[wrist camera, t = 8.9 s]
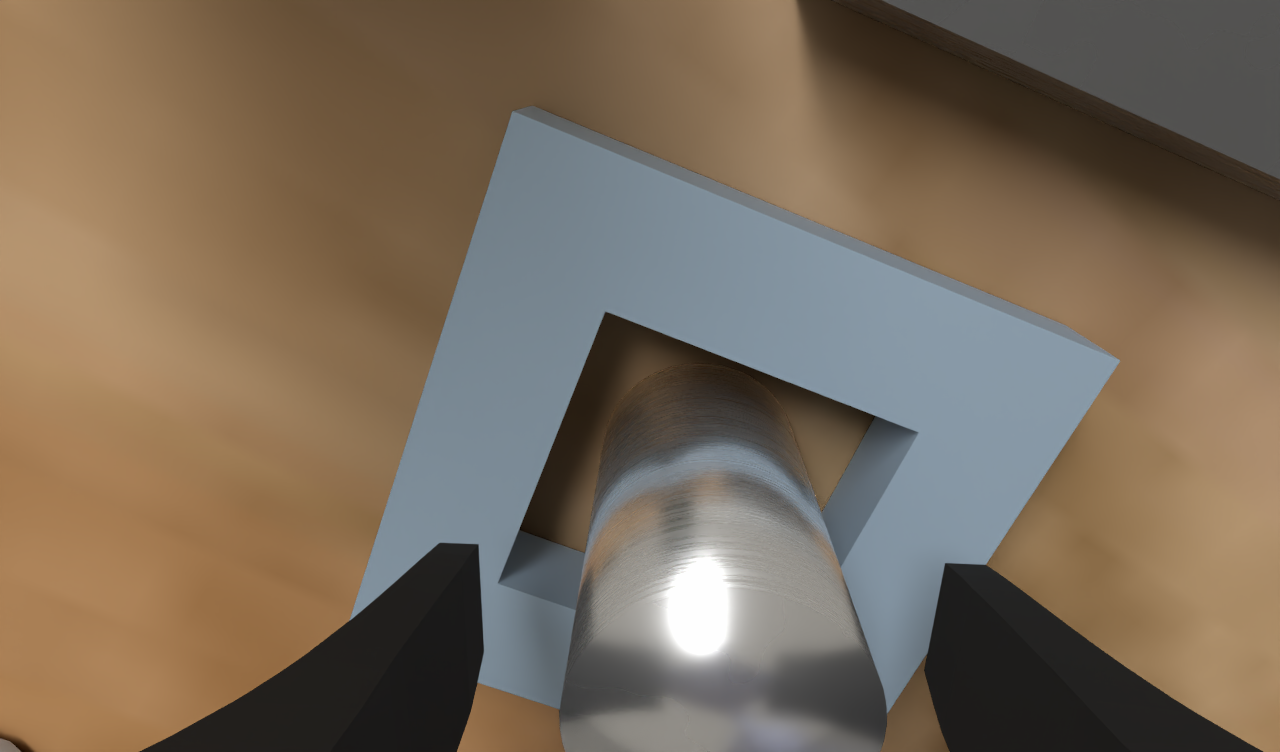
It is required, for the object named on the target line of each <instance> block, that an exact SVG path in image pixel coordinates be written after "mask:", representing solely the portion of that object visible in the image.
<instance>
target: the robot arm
mask: <svg viewBox="0 0 1280 752" xmlns="http://www.w3.org/2000/svg"><path fill="white" fill-rule="evenodd" d="M483 654H484V640H483V621H482V602H481V582H480V563H479V544H462V543H439V544H437V545H436V546H435V547H434V548H433V549H432V550H430V551H429V552H428V553H427V554H426V555H425V556H424V557H422V558H421V559H420V560H419V561H418V562H417V563H416V564H415V565H413V566H412V567H411V568H410V569H409V570H408V571H407V572H406V573H405V574H403V575H402V576H401V577H400V578H399V579H398V580H397V581H396V582H394V583H393V584H392V585H391V586H390V587H389V588H388V589H387V590H385V591H384V592H383V593H382V594H381V595H380V596H378V597H377V598H376V599H375V600H374V601H373V602H371V603H370V604H369V605H368V606H367V607H366V608H364V609H363V610H362V611H361V612H360V613H358V614H357V615H356V616H355V617H354V618H353V619H351V620H350V621H349V622H347V623H346V624H345V625H343V626H342V627H341V628H340V629H338V630H337V631H336V632H334V633H333V634H332V635H331V636H329V637H328V638H327V639H325V640H324V641H323V642H321V643H320V644H319V645H318V646H316V647H315V648H314V649H312V650H311V651H310V652H309V653H307V654H306V655H304V656H303V657H302V658H300V659H299V660H297V661H296V662H294V663H293V664H292V665H290V666H289V667H287V668H286V669H284V670H283V671H281V672H280V673H278V674H277V675H275V676H274V677H272V678H270V679H269V680H267V681H266V682H264V683H263V684H261V685H260V686H258V687H256V688H255V689H253V690H252V691H250V692H249V693H247V694H245V695H244V696H242V697H240V698H239V699H237V700H235V701H234V702H232V703H230V704H228V705H227V706H225V707H223V708H221V709H219V710H217V711H216V712H214V713H212V714H210V715H208V716H207V717H205V718H203V719H201V720H199V721H197V722H196V723H194V724H192V725H190V726H188V727H187V728H185V729H183V730H181V731H179V732H178V733H176V734H174V735H172V736H170V737H168V738H166V739H164V740H162V741H160V742H158V743H156V744H154V745H152V746H150V747H148V748H146V749H144V750H142V751H140V752H457V749H458V746H459V744H460V741H461V738H462V735H463V732H464V730H465V727H466V724H467V721H468V718H469V715H470V712H471V708H472V704H473V699H474V695H475V691H476V687H477V682H478V678H479V673H480V668H481V664H482V659H483ZM924 671H925V675H926V679H927V682H928V686H929V690H930V693H931V697H932V701H933V705H934V708H935V711H936V715H937V718H938V721H939V725H940V728H941V731H942V734H943V736H944V739H945V741H946V744H947V746H948V749H949V751H950V752H1263V751H1261V750H1259V749H1257V748H1256V747H1254V746H1252V745H1250V744H1248V743H1247V742H1245V741H1243V740H1241V739H1240V738H1238V737H1236V736H1235V735H1233V734H1231V733H1230V732H1228V731H1226V730H1224V729H1223V728H1221V727H1219V726H1218V725H1216V724H1214V723H1212V722H1211V721H1209V720H1207V719H1206V718H1204V717H1202V716H1200V715H1199V714H1197V713H1195V712H1194V711H1192V710H1190V709H1189V708H1187V707H1186V706H1184V705H1182V704H1181V703H1179V702H1178V701H1176V700H1174V699H1173V698H1171V697H1170V696H1168V695H1167V694H1165V693H1164V692H1162V691H1161V690H1159V689H1158V688H1156V687H1155V686H1153V685H1152V684H1150V683H1149V682H1147V681H1146V680H1144V679H1143V678H1141V677H1140V676H1138V675H1137V674H1135V673H1134V672H1132V671H1131V670H1129V669H1128V668H1126V667H1125V666H1124V665H1122V664H1121V663H1119V662H1118V661H1116V660H1115V659H1114V658H1112V657H1111V656H1109V655H1108V654H1106V653H1105V652H1104V651H1102V650H1101V649H1099V648H1098V647H1097V646H1095V645H1094V644H1093V643H1091V642H1090V641H1088V640H1087V639H1086V638H1084V637H1083V636H1082V635H1080V634H1079V633H1078V632H1076V631H1075V630H1074V629H1072V628H1071V627H1070V626H1068V625H1067V624H1066V623H1064V622H1063V621H1062V620H1060V619H1059V618H1058V617H1056V616H1055V615H1054V614H1052V613H1051V612H1050V611H1048V610H1047V609H1046V608H1044V607H1043V606H1042V605H1040V604H1039V603H1038V602H1036V601H1035V600H1034V599H1032V598H1031V597H1030V596H1028V595H1027V594H1026V593H1024V592H1023V591H1022V590H1020V589H1019V588H1018V587H1016V586H1015V585H1014V584H1012V583H1011V582H1010V581H1008V580H1007V579H1006V578H1004V577H1003V576H1001V575H1000V574H998V573H997V572H996V571H994V570H993V569H991V568H990V567H988V566H986V565H981V564H956V563H945V566H944V571H943V576H942V581H941V587H940V592H939V597H938V602H937V607H936V612H935V618H934V623H933V628H932V633H931V638H930V643H929V649H928V654H927V659H926V664H925V669H924Z"/></svg>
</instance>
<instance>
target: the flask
mask: <svg viewBox="0 0 1280 752" xmlns="http://www.w3.org/2000/svg"><path fill="white" fill-rule="evenodd" d="M0 752H21V751H20V750H19V749H18V748H17V747H16V746H15V745H14V744H13V743H11V742H10V741H7V740H4V739H0Z"/></svg>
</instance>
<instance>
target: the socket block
mask: <svg viewBox="0 0 1280 752" xmlns="http://www.w3.org/2000/svg"><path fill="white" fill-rule="evenodd" d="M832 1H834V2H836V3H838V4H841V5H843V6H845V7H847V8H850V9H852V10H854V11H856V12H859V13H861V14H863V15H865V16H868V17H870V18H872V19H874V20H877V21H879V22H881V23H883V24H885V25H888V26H890V27H892V28H894V29H897V30H899V31H901V32H903V33H906V34H908V35H910V36H912V37H915V38H917V39H919V40H921V41H924V42H926V43H928V44H930V45H933V46H935V47H937V48H939V49H942V50H944V51H946V52H948V53H950V54H953V55H955V56H957V57H959V58H962V59H964V60H966V61H968V62H971V63H973V64H975V65H977V66H980V67H982V68H984V69H986V70H989V71H991V72H993V73H995V74H998V75H1000V76H1002V77H1004V78H1006V79H1009V80H1011V81H1013V82H1015V83H1018V84H1020V85H1022V86H1024V87H1027V88H1029V89H1031V90H1033V91H1036V92H1038V93H1040V94H1042V95H1045V96H1047V97H1049V98H1051V99H1054V100H1056V101H1058V102H1060V103H1063V104H1065V105H1067V106H1069V107H1071V108H1074V109H1076V110H1078V111H1080V112H1083V113H1085V114H1087V115H1089V116H1092V117H1094V118H1096V119H1098V120H1101V121H1103V122H1105V123H1107V124H1110V125H1112V126H1114V127H1116V128H1119V129H1121V130H1123V131H1125V132H1127V133H1130V134H1132V135H1134V136H1136V137H1139V138H1141V139H1143V140H1145V141H1148V142H1150V143H1152V144H1154V145H1157V146H1159V147H1161V148H1163V149H1166V150H1168V151H1170V152H1172V153H1175V154H1177V155H1179V156H1181V157H1184V158H1186V159H1188V160H1190V161H1192V162H1195V163H1197V164H1199V165H1201V166H1204V167H1206V168H1208V169H1210V170H1213V171H1215V172H1217V173H1219V174H1222V175H1224V176H1226V177H1228V178H1231V179H1233V180H1235V181H1237V182H1240V183H1242V184H1244V185H1246V186H1248V187H1251V188H1253V189H1255V190H1257V191H1260V192H1262V193H1264V194H1266V195H1269V196H1271V197H1273V198H1275V199H1278V200H1280V0H832Z"/></svg>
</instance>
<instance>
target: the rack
mask: <svg viewBox="0 0 1280 752" xmlns="http://www.w3.org/2000/svg"><path fill="white" fill-rule="evenodd" d="M605 311H606V312H609V313H611V314H614V315H616V316H619V317H622V318H624V319H627V320H629V321H632V322H634V323H637V324H640V325H642V326H645V327H647V328H650V329H653V330H655V331H658V332H660V333H663V334H665V335H668V336H671V337H673V338H676V339H678V340H681V341H684V342H686V343H689V344H691V345H694V346H696V347H699V348H702V349H704V350H707V351H709V352H712V353H715V354H717V355H720V356H722V357H725V358H728V359H730V360H733V361H735V362H738V363H740V364H743V365H746V366H748V367H751V368H753V369H756V370H759V371H761V372H764V373H766V374H769V375H771V376H774V377H777V378H779V379H782V380H784V381H787V382H790V383H792V384H795V385H797V386H800V387H802V388H805V389H808V390H810V391H813V392H815V393H818V394H821V395H823V396H826V397H828V398H831V399H833V400H836V401H839V402H841V403H844V404H846V405H849V406H852V407H854V408H857V409H859V410H862V411H864V412H867V413H870V414H872V415H875V418H874V420H873V421H872V423H871V425H870V427H869V429H868V430H867V432H866V434H865V436H864V438H863V439H862V441H861V443H860V445H859V447H858V448H857V450H856V452H855V454H854V456H853V457H852V459H851V461H850V463H849V465H848V467H847V468H846V470H845V472H844V474H843V476H842V477H841V479H840V481H839V483H838V485H837V486H836V488H835V490H834V492H833V494H832V495H831V497H830V499H829V501H828V503H827V504H826V506H825V508H824V510H823V512H822V513H821V514H822V517H823V519H824V522H825V525H826V528H827V531H828V534H829V536H830V539H831V542H832V545H833V548H834V550H835V553H836V556H837V559H838V562H839V565H840V567H841V570H842V573H843V576H844V579H845V582H846V584H847V587H848V590H849V593H850V596H851V599H852V601H853V604H854V607H855V610H856V613H857V615H858V618H859V621H860V624H861V627H862V630H863V632H864V635H865V638H866V641H867V644H868V647H869V649H870V652H871V655H872V658H873V661H874V664H875V666H876V669H877V672H878V675H879V678H880V681H881V683H882V686H883V689H884V694H885V699H886V705H887V713H888V712H889V710H890V709H891V707H892V706H893V704H894V703H895V701H896V700H897V698H898V697H899V695H900V694H901V692H902V691H903V689H904V688H905V686H906V685H907V683H908V682H909V680H910V679H911V677H912V675H913V674H914V672H915V671H916V669H917V668H918V666H919V665H920V663H921V662H922V660H923V659H924V657H925V656H926V654H927V653H928V649H929V643H930V638H931V633H932V628H933V623H934V618H935V612H936V607H937V602H938V597H939V592H940V587H941V581H942V576H943V571H944V566H945V563H956V564H981V565H986V563H987V562H988V560H989V559H990V557H991V556H992V554H993V553H994V551H995V550H996V548H997V547H998V545H999V544H1000V542H1001V541H1002V539H1003V538H1004V536H1005V535H1006V533H1007V532H1008V530H1009V528H1010V527H1011V525H1012V524H1013V522H1014V521H1015V519H1016V518H1017V516H1018V515H1019V513H1020V512H1021V510H1022V509H1023V507H1024V506H1025V504H1026V503H1027V501H1028V500H1029V498H1030V497H1031V495H1032V494H1033V492H1034V491H1035V489H1036V488H1037V486H1038V485H1039V483H1040V482H1041V480H1042V478H1043V477H1044V475H1045V474H1046V472H1047V471H1048V469H1049V468H1050V466H1051V465H1052V463H1053V462H1054V460H1055V459H1056V457H1057V456H1058V454H1059V453H1060V451H1061V450H1062V448H1063V447H1064V445H1065V444H1066V442H1067V441H1068V439H1069V438H1070V436H1071V435H1072V433H1073V432H1074V430H1075V428H1076V427H1077V425H1078V424H1079V422H1080V421H1081V419H1082V418H1083V416H1084V415H1085V413H1086V412H1087V410H1088V409H1089V407H1090V406H1091V404H1092V403H1093V401H1094V400H1095V398H1096V397H1097V395H1098V394H1099V392H1100V391H1101V389H1102V388H1103V386H1104V385H1105V383H1106V382H1107V380H1108V378H1109V377H1110V375H1111V374H1112V372H1113V371H1114V369H1115V368H1116V366H1117V365H1118V363H1119V362H1120V360H1119V359H1117V358H1116V357H1114V356H1113V355H1111V354H1109V353H1108V352H1106V351H1105V350H1103V349H1102V348H1100V347H1099V346H1097V345H1095V344H1094V343H1092V342H1091V341H1089V340H1088V339H1086V338H1084V337H1083V336H1081V335H1080V334H1078V333H1077V332H1075V331H1074V330H1072V329H1070V328H1069V327H1067V326H1066V325H1063V324H1061V323H1059V322H1056V321H1054V320H1051V319H1049V318H1046V317H1044V316H1042V315H1039V314H1037V313H1034V312H1032V311H1029V310H1027V309H1025V308H1022V307H1020V306H1017V305H1015V304H1012V303H1010V302H1008V301H1005V300H1003V299H1000V298H998V297H995V296H993V295H991V294H988V293H986V292H983V291H981V290H978V289H976V288H974V287H971V286H969V285H966V284H964V283H962V282H959V281H957V280H954V279H952V278H949V277H947V276H945V275H942V274H940V273H937V272H935V271H932V270H930V269H928V268H925V267H923V266H920V265H918V264H915V263H913V262H911V261H908V260H906V259H903V258H901V257H898V256H896V255H894V254H891V253H889V252H886V251H884V250H881V249H879V248H877V247H874V246H872V245H869V244H867V243H865V242H862V241H860V240H857V239H855V238H852V237H850V236H848V235H845V234H843V233H840V232H838V231H835V230H833V229H831V228H828V227H826V226H823V225H821V224H818V223H816V222H814V221H811V220H809V219H806V218H804V217H801V216H799V215H797V214H794V213H792V212H789V211H787V210H784V209H782V208H780V207H777V206H775V205H772V204H770V203H767V202H765V201H763V200H760V199H758V198H755V197H753V196H751V195H748V194H746V193H743V192H741V191H738V190H736V189H734V188H731V187H729V186H726V185H724V184H721V183H719V182H717V181H714V180H712V179H709V178H707V177H704V176H702V175H700V174H697V173H695V172H692V171H690V170H687V169H685V168H683V167H680V166H678V165H675V164H673V163H670V162H668V161H666V160H663V159H661V158H658V157H656V156H654V155H651V154H649V153H646V152H644V151H641V150H639V149H637V148H634V147H632V146H629V145H627V144H624V143H622V142H620V141H617V140H615V139H612V138H610V137H607V136H605V135H603V134H600V133H598V132H595V131H593V130H590V129H588V128H586V127H583V126H581V125H578V124H576V123H573V122H571V121H569V120H566V119H564V118H561V117H559V116H556V115H554V114H552V113H549V112H547V111H544V110H542V109H540V108H537V107H535V106H529V107H525V108H522V109H518V110H515V111H512V114H511V118H510V121H509V124H508V127H507V130H506V133H505V136H504V139H503V143H502V146H501V149H500V152H499V155H498V158H497V161H496V164H495V168H494V171H493V174H492V177H491V180H490V183H489V186H488V189H487V193H486V196H485V199H484V202H483V205H482V208H481V211H480V214H479V218H478V221H477V224H476V227H475V230H474V233H473V236H472V239H471V243H470V246H469V249H468V252H467V255H466V258H465V261H464V264H463V268H462V271H461V274H460V277H459V280H458V283H457V286H456V289H455V293H454V296H453V299H452V302H451V305H450V308H449V311H448V314H447V318H446V321H445V324H444V327H443V330H442V333H441V336H440V339H439V343H438V346H437V349H436V352H435V355H434V358H433V361H432V365H431V368H430V371H429V374H428V377H427V380H426V383H425V386H424V390H423V393H422V396H421V399H420V402H419V405H418V408H417V411H416V415H415V418H414V421H413V424H412V427H411V430H410V433H409V436H408V440H407V443H406V446H405V449H404V452H403V455H402V458H401V461H400V465H399V468H398V471H397V474H396V477H395V480H394V483H393V486H392V490H391V493H390V496H389V499H388V502H387V505H386V508H385V511H384V515H383V518H382V521H381V524H380V527H379V530H378V533H377V536H376V540H375V543H374V546H373V549H372V552H371V555H370V558H369V561H368V565H367V568H366V571H365V574H364V577H363V580H362V583H361V586H360V590H359V593H358V596H357V599H356V602H355V605H354V608H353V611H352V615H351V618H350V620H351V619H353V618H354V617H355V616H356V615H357V614H358V613H360V612H361V611H362V610H363V609H364V608H366V607H367V606H368V605H369V604H370V603H371V602H373V601H374V600H375V599H376V598H377V597H378V596H380V595H381V594H382V593H383V592H384V591H385V590H387V589H388V588H389V587H390V586H391V585H392V584H393V583H394V582H396V581H397V580H398V579H399V578H400V577H401V576H402V575H403V574H405V573H406V572H407V571H408V570H409V569H410V568H411V567H412V566H413V565H415V564H416V563H417V562H418V561H419V560H420V559H421V558H422V557H424V556H425V555H426V554H427V553H428V552H429V551H430V550H432V549H433V548H434V547H435V546H436V545H437V544H439V543H462V544H479V563H480V582H481V602H482V621H483V640H484V654H483V659H482V664H481V668H480V673H479V678H478V683H481V684H484V685H487V686H490V687H493V688H496V689H499V690H502V691H505V692H508V693H511V694H514V695H517V696H520V697H523V698H526V699H529V700H532V701H536V702H539V703H542V704H545V705H548V706H551V707H554V708H557V709H560V704H561V697H562V691H563V685H564V679H565V673H566V666H567V660H568V654H569V648H570V642H571V636H572V630H573V624H574V618H575V612H576V605H577V599H578V593H579V587H580V581H581V575H582V569H583V563H584V557H585V553H583V552H580V551H577V550H574V549H571V548H569V547H566V546H563V545H560V544H557V543H554V542H551V541H549V540H546V539H543V538H540V537H537V536H534V535H532V534H529V533H526V532H523V531H520V530H519V528H520V526H521V523H522V521H523V518H524V516H525V513H526V511H527V508H528V506H529V503H530V501H531V498H532V496H533V493H534V490H535V488H536V485H537V483H538V480H539V478H540V475H541V473H542V470H543V468H544V465H545V463H546V460H547V458H548V455H549V453H550V450H551V447H552V445H553V442H554V440H555V437H556V435H557V432H558V430H559V427H560V425H561V422H562V420H563V417H564V415H565V412H566V410H567V407H568V405H569V402H570V399H571V397H572V394H573V392H574V389H575V387H576V384H577V382H578V379H579V377H580V374H581V372H582V369H583V367H584V364H585V362H586V359H587V356H588V354H589V351H590V349H591V346H592V344H593V341H594V339H595V336H596V334H597V331H598V329H599V326H600V324H601V321H602V319H603V316H604V314H605Z"/></svg>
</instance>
